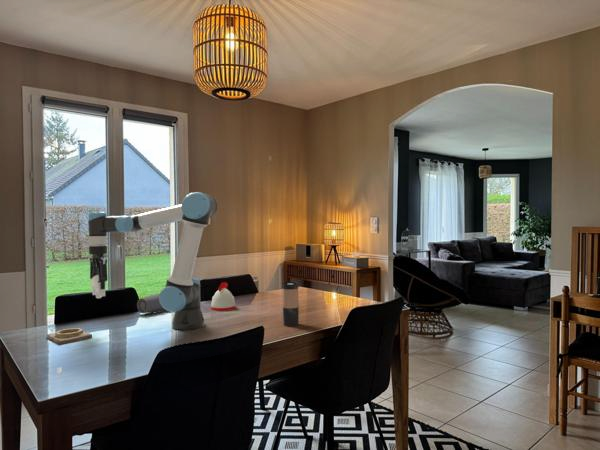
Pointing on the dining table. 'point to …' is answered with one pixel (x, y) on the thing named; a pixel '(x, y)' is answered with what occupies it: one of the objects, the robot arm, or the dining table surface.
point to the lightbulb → (96, 285)
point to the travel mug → (290, 304)
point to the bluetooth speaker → (149, 304)
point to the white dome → (223, 299)
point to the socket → (69, 335)
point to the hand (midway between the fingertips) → (98, 295)
